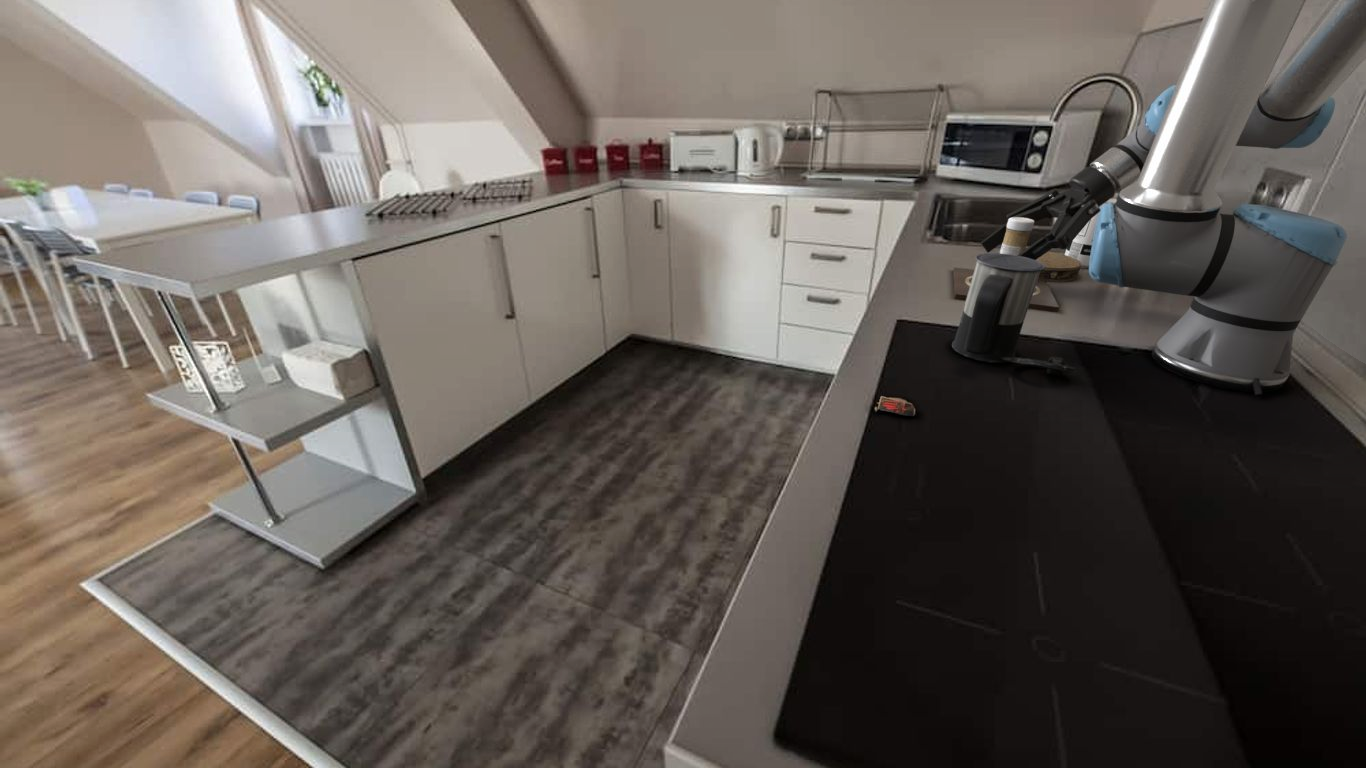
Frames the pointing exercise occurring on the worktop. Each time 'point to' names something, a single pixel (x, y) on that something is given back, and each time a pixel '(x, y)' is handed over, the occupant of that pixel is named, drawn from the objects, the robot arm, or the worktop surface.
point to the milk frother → (1000, 311)
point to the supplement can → (1084, 241)
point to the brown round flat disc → (1058, 267)
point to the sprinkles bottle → (1016, 235)
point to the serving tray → (1039, 300)
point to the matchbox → (896, 406)
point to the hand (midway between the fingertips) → (998, 256)
